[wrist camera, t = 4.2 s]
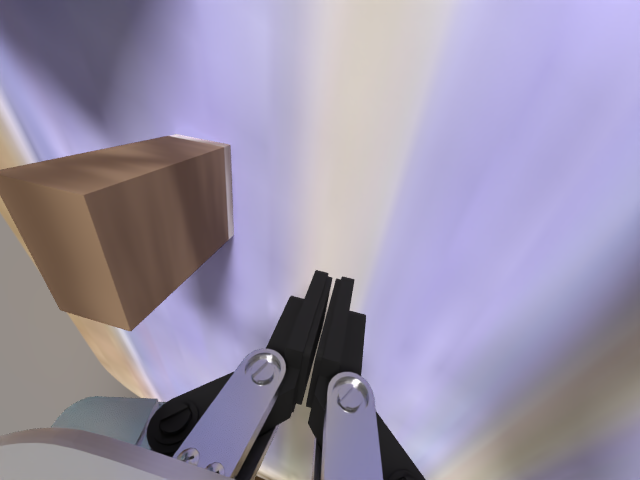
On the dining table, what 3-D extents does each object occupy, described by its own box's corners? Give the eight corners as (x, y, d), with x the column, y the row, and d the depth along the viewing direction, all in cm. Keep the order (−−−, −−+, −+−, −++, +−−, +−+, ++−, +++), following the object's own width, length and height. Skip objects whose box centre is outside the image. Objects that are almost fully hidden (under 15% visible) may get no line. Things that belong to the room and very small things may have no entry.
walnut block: (230, 144, 18) (83, 194, 9) (233, 235, 21) (130, 331, 13) (176, 134, 18) (-12, 172, 10) (188, 224, 22) (59, 310, 13)
